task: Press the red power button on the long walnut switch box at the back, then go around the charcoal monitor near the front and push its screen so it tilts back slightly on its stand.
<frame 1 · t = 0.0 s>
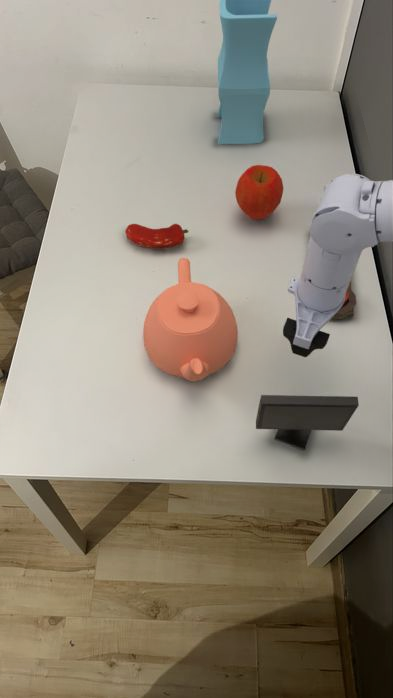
hand: (308, 331, 70), 11 cm above the table, tool pointing down, fingers open, 7 cm apart
vase: (240, 129, 108), on the table
switch box: (331, 273, 88), on the table
monitor stand: (294, 436, 74), on the table
apple: (256, 217, 96), on the table
power button: (337, 296, 82), point 3 cm above the table, slide at 0.1 cm
teapot: (191, 347, 82), on the table
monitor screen: (303, 414, 66), point 9 cm above the table, hinge at 0.0°
vegetable: (156, 243, 93), on the table
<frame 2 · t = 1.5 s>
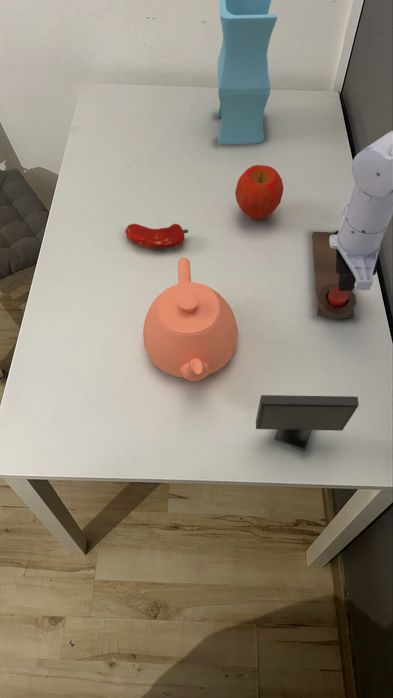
hand: (344, 280, 79), 7 cm above the table, tool pointing down, fingers open, 3 cm apart
nothing on the table moved.
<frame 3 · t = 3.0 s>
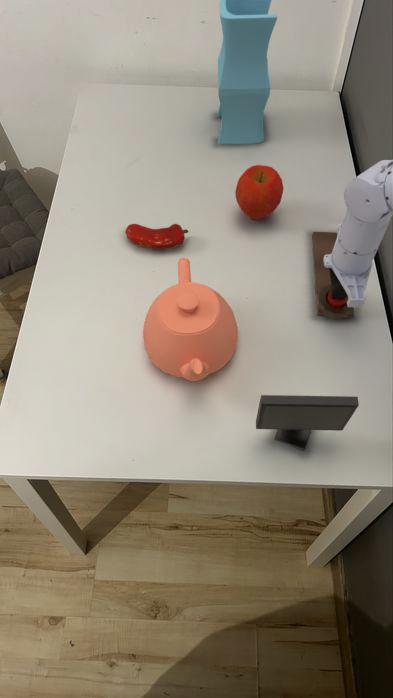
hand: (337, 295, 82), 3 cm above the table, tool pointing down, fingers closed, pressing on power button
power button: (337, 298, 83), point 2 cm above the table, slide at -0.4 cm, touching gripper
everything else where it was.
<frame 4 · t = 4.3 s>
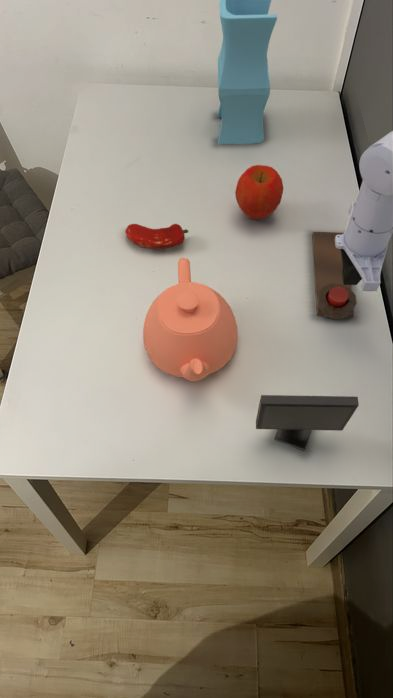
hand: (349, 281, 76), 9 cm above the table, tool pointing down, fingers closed
power button: (337, 296, 82), point 3 cm above the table, slide at 0.1 cm
everything else where it was.
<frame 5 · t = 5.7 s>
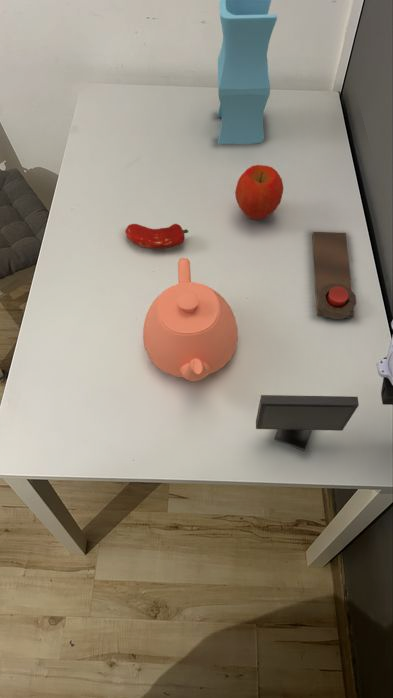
hand: (389, 399, 65), 10 cm above the table, tool pointing down, fingers closed
nothing on the table moved.
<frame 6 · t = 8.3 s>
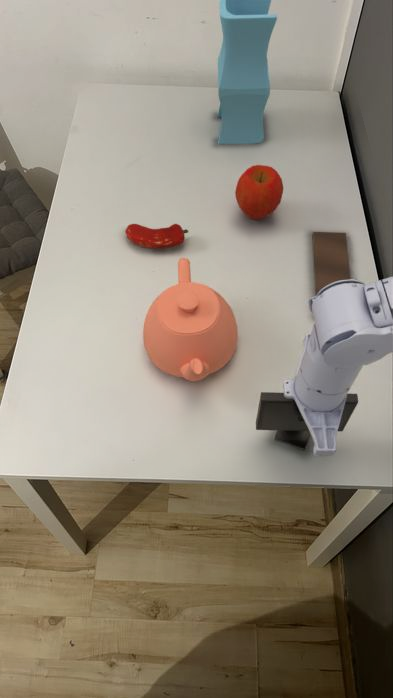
hand: (306, 418, 64), 10 cm above the table, tool pointing down, fingers closed
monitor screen: (303, 413, 66), point 9 cm above the table, hinge at 3.8°, touching gripper
everything else where it was.
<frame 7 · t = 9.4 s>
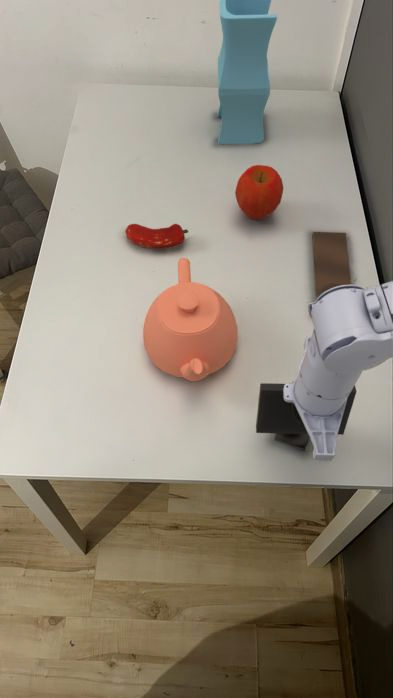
hand: (306, 422, 64), 10 cm above the table, tool pointing down, fingers closed
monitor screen: (303, 410, 66), point 9 cm above the table, hinge at 16.8°
everything else where it was.
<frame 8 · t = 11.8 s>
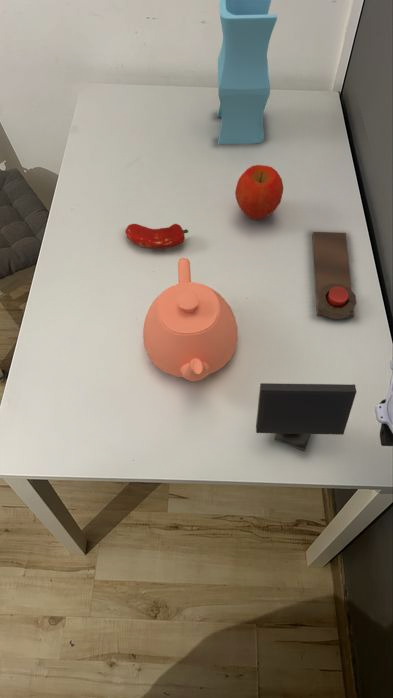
hand: (388, 440, 62), 10 cm above the table, tool pointing down, fingers closed
nothing on the table moved.
at the end: power button pushed in 1.0 cm at the most during the clip, back to where it started at the end; power button slide at 0.1 cm; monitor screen at +17° (first picture: +0°) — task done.
